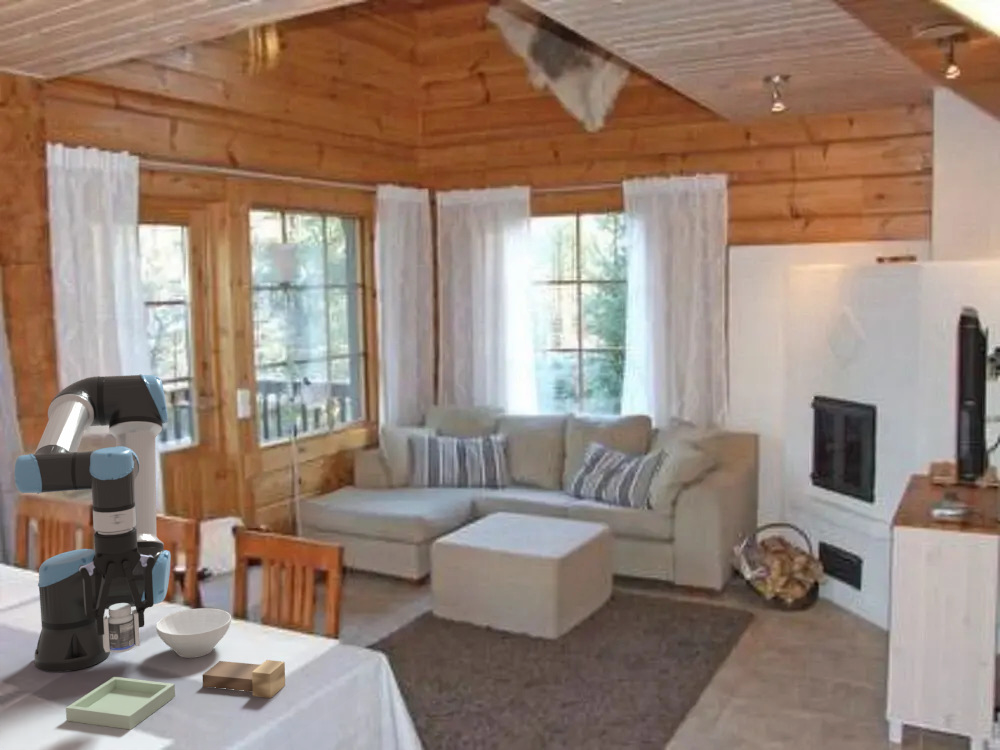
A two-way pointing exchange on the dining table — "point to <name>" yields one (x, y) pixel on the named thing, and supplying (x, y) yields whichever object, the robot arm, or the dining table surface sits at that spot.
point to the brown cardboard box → (230, 676)
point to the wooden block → (268, 678)
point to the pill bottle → (121, 628)
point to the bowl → (194, 630)
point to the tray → (120, 702)
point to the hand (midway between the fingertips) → (121, 646)
